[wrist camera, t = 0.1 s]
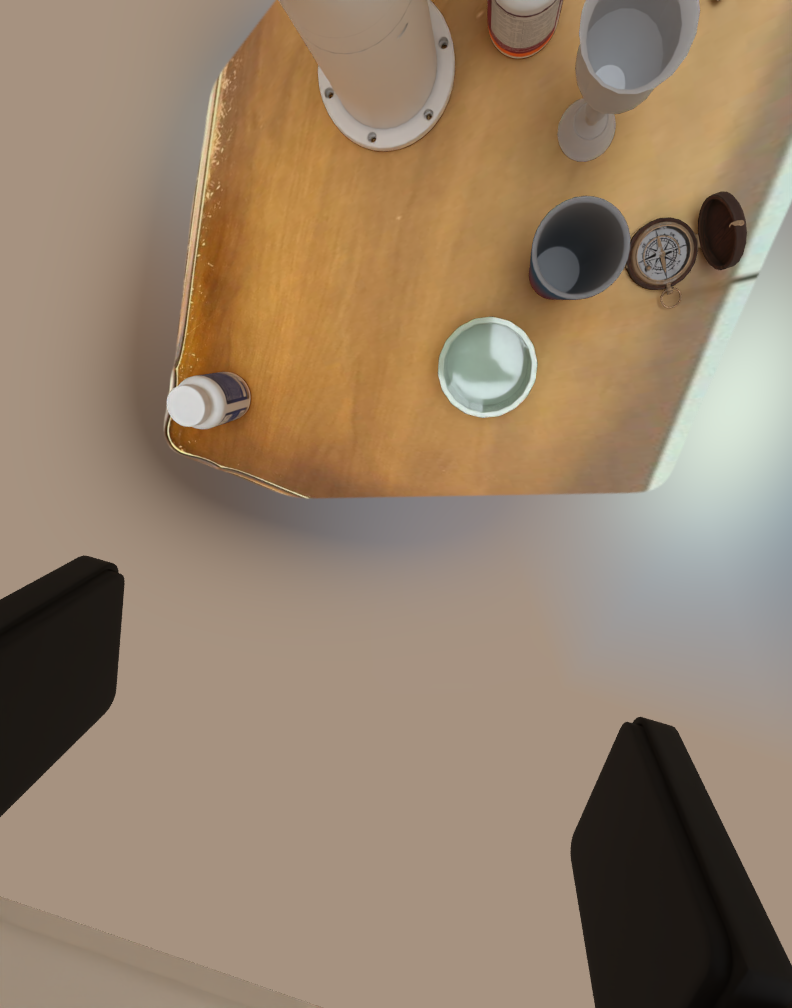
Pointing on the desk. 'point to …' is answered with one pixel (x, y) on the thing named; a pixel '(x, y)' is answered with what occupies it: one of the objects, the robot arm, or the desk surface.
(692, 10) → the chalice
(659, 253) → the compass
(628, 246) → the cup
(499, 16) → the pill bottle
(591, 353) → the desk surface
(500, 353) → the open cylindrical container
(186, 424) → the pill bottle
